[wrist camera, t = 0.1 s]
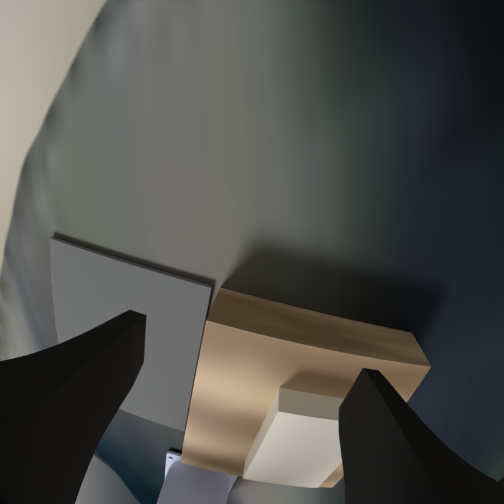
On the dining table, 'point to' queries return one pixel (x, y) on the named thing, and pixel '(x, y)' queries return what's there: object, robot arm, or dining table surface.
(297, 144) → the dining table surface
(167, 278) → the charcoal mat
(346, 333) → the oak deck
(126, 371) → the robot arm
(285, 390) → the cream tile
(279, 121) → the dining table surface
